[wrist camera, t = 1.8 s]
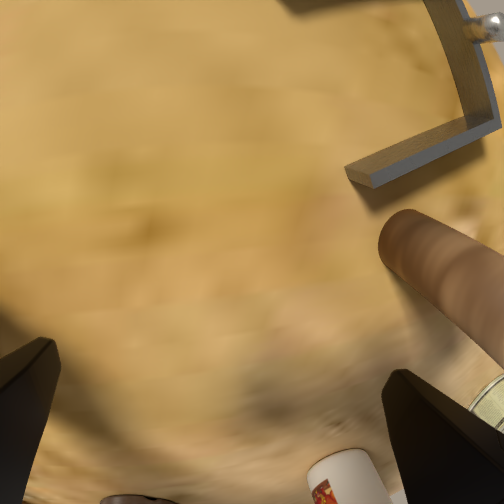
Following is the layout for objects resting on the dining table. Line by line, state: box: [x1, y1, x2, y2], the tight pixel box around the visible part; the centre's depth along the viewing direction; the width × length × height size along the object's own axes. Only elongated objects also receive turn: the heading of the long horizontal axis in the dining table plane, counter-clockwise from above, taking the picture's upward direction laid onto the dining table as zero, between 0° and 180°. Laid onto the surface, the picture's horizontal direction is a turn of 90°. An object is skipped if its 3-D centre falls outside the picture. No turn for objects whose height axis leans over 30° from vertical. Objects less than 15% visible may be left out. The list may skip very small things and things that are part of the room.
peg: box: [378, 209, 504, 369], centre depth 14 cm, size 4×4×14 cm
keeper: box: [345, 0, 504, 189], centre depth 13 cm, size 12×14×6 cm
